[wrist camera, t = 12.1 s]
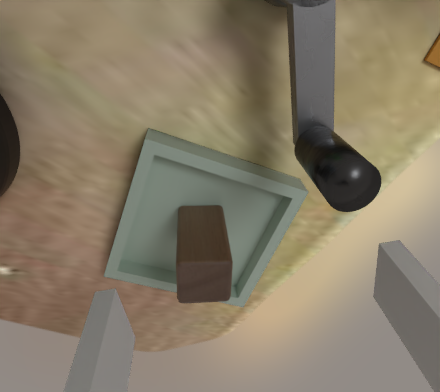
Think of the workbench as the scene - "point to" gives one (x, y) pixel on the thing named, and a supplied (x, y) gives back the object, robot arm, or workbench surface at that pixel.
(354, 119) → the workbench surface
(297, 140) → the crank
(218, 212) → the wooden block
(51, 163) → the workbench surface
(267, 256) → the tray
